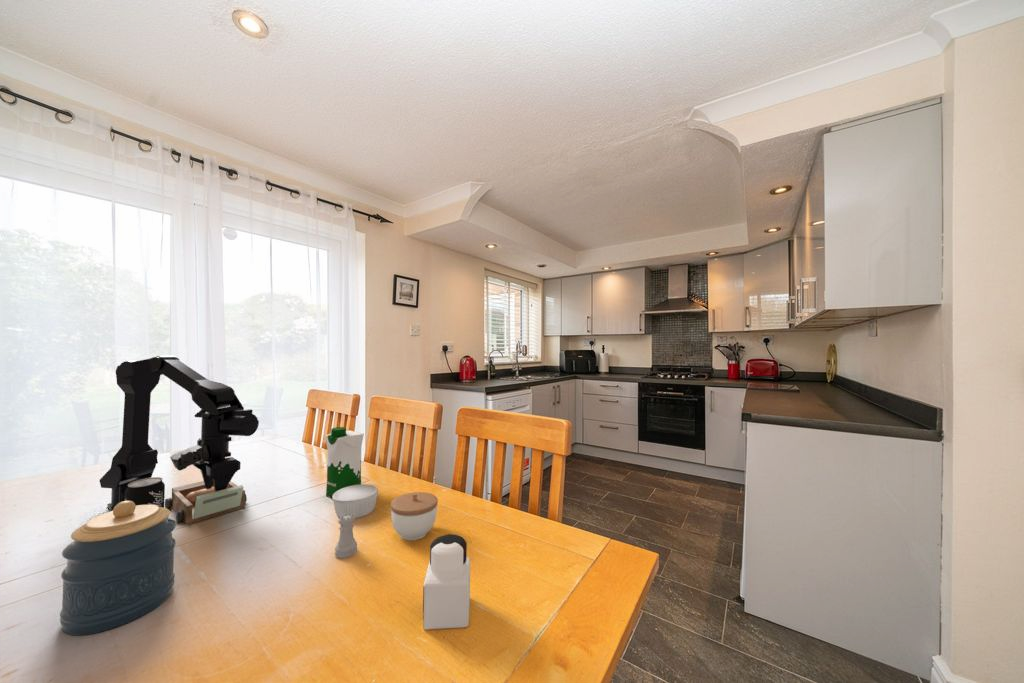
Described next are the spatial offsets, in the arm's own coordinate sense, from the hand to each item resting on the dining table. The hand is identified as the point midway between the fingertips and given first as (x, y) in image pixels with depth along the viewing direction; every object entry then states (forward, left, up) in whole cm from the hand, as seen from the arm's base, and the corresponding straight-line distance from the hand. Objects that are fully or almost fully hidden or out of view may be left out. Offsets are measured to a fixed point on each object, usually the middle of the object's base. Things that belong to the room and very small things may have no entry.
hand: (213, 492), depth 95 cm
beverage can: (+1, -13, -5) cm, 14 cm away
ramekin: (+29, +23, -5) cm, 38 cm away
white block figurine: (+76, +12, -5) cm, 78 cm away
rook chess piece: (+46, +11, -5) cm, 48 cm away
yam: (-8, 0, -4) cm, 9 cm away
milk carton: (+16, +27, -5) cm, 32 cm away
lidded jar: (+51, +25, -5) cm, 57 cm away
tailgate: (+3, 0, -4) cm, 5 cm away
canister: (+31, -20, -5) cm, 38 cm away
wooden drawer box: (-6, 0, -5) cm, 7 cm away
